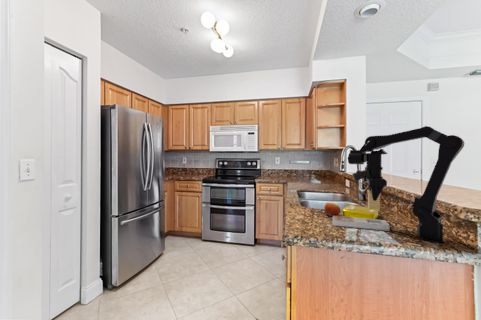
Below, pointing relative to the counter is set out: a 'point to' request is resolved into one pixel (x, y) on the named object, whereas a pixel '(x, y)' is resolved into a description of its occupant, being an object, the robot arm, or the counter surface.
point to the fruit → (331, 209)
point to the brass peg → (371, 203)
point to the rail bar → (361, 223)
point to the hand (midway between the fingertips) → (373, 199)
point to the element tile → (360, 212)
